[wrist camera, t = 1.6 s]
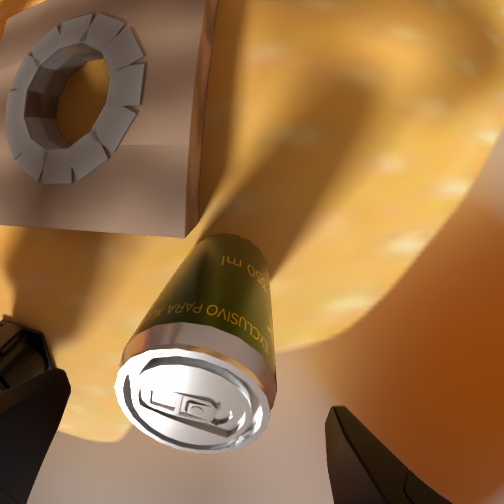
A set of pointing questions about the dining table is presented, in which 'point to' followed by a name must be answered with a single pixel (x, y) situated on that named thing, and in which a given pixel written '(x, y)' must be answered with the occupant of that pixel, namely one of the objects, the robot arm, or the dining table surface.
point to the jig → (106, 116)
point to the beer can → (205, 352)
